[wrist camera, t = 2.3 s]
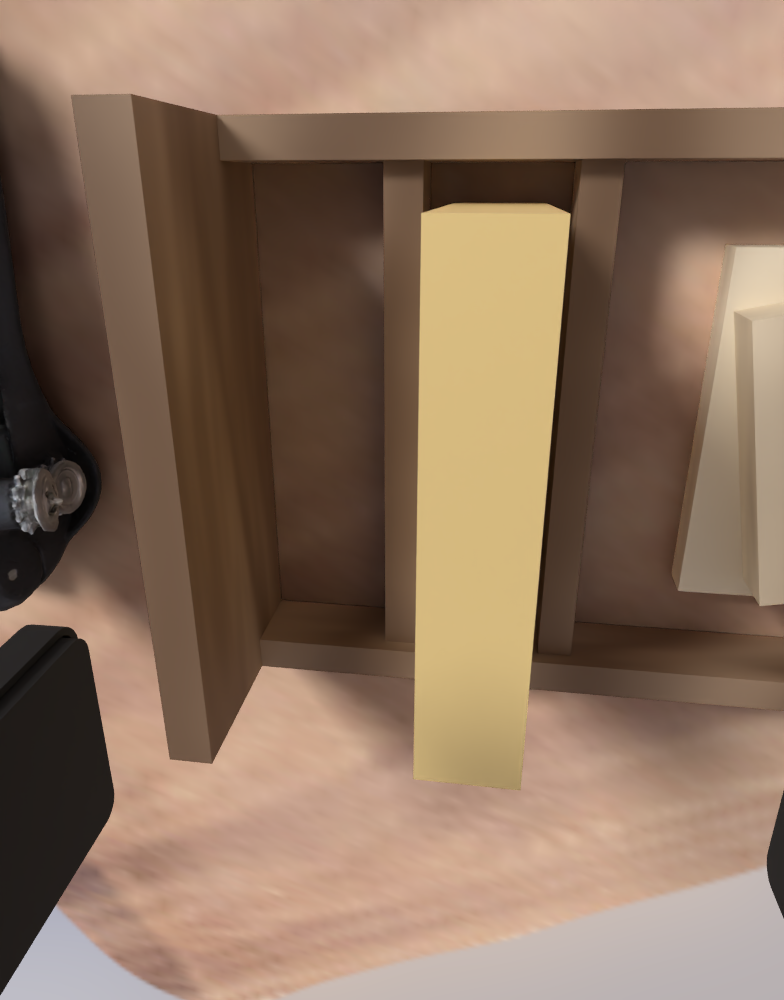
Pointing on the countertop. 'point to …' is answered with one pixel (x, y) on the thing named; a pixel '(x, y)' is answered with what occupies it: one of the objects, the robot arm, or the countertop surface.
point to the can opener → (33, 460)
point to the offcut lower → (722, 432)
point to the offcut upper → (761, 447)
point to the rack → (244, 399)
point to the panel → (482, 478)
